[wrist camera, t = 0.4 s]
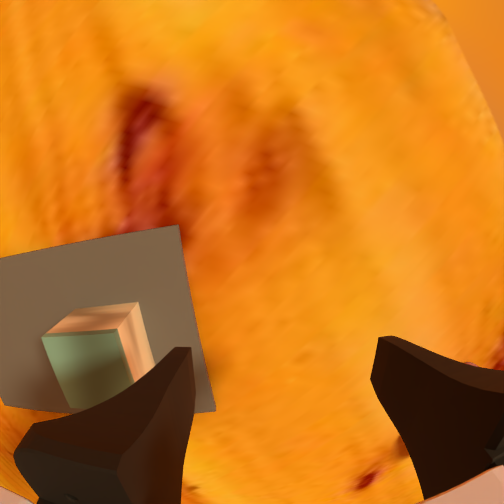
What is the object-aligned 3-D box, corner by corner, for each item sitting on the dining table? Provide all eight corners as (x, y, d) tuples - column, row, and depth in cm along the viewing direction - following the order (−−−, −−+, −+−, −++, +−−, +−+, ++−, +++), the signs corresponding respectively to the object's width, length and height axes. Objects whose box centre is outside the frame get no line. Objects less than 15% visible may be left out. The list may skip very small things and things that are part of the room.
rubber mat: (7, 402, 21) (4, 405, 20) (-41, 267, 18) (-45, 269, 17) (216, 406, 22) (215, 411, 21) (178, 224, 19) (176, 225, 19)
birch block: (95, 370, 20) (70, 408, 15) (75, 308, 19) (41, 337, 14) (155, 367, 20) (140, 409, 15) (138, 301, 19) (113, 333, 14)
